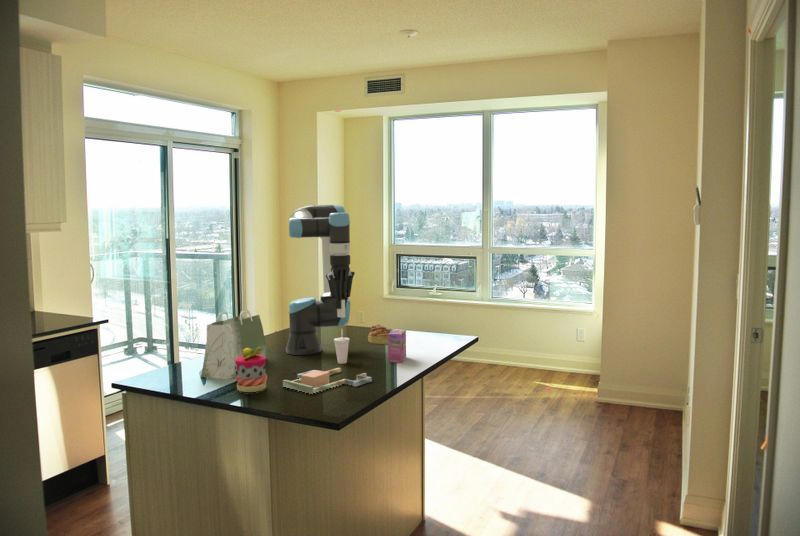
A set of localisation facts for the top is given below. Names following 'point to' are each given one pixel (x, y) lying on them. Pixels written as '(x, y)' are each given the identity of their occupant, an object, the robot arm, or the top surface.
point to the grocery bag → (231, 344)
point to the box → (397, 345)
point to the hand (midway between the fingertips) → (341, 316)
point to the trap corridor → (309, 389)
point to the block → (315, 378)
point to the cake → (251, 371)
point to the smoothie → (341, 348)
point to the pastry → (378, 335)
